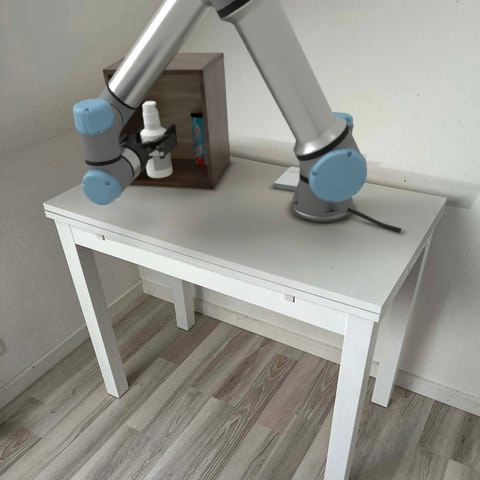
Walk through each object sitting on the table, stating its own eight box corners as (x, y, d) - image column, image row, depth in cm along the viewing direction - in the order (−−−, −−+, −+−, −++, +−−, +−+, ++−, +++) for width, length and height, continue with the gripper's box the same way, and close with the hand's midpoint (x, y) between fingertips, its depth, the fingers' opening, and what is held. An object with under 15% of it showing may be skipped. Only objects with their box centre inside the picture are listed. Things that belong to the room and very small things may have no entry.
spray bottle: (168, 179, 128) (157, 107, 117) (143, 178, 129) (130, 107, 118) (176, 168, 133) (166, 99, 122) (152, 168, 135) (140, 99, 123)
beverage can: (199, 160, 153) (193, 110, 143) (217, 160, 151) (213, 110, 142) (193, 167, 148) (187, 116, 139) (212, 168, 147) (207, 116, 138)
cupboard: (213, 189, 136) (203, 69, 117) (126, 184, 141) (102, 69, 122) (230, 163, 150) (223, 52, 131) (150, 159, 156) (132, 53, 136)
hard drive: (273, 188, 135) (289, 171, 143) (301, 192, 132) (316, 174, 140) (273, 182, 133) (289, 165, 142) (301, 186, 130) (316, 169, 139)
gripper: (91, 176, 116) (128, 142, 133) (169, 180, 112) (198, 144, 129) (82, 145, 111) (123, 114, 128) (164, 147, 107) (195, 115, 124)
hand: (160, 129), depth 129 cm, fingers closed on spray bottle, 7 cm apart
